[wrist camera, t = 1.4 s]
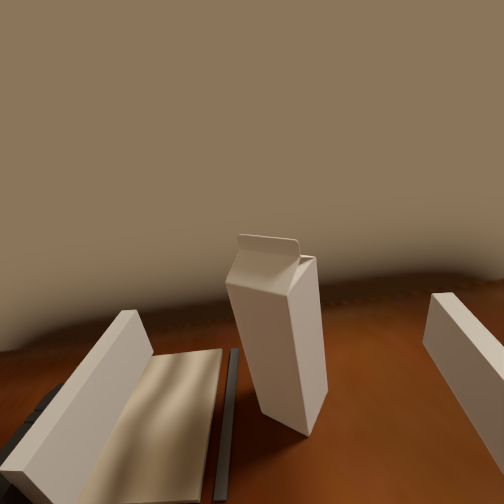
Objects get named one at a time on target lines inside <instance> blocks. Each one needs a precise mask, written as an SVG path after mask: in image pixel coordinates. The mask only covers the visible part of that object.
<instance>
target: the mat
mask: <svg viewBox="0 0 504 504" xmlns="http://www.w3.org/2000/svg"><path fill="white" fill-rule="evenodd" d="M222 352H223V351H222V348H221V349H213V350H204V351H195V352H186V353H178V354H169V355H160V356H152V357H150V359H149V361H148V363H147V365H146V367H145V369H144V371H143V373H142V375H141V377H140V379H139V381H138V382H137V384H136V386H135V388H134V390H133V392H132V394H131V396H130V398H129V400H128V402H127V404H126V406H125V408H124V410H123V412H122V413H121V415H120V417H119V419H118V421H117V423H116V425H115V427H114V429H113V431H112V433H111V435H110V437H109V439H108V441H107V443H106V444H105V446H104V448H103V450H102V452H101V454H100V456H99V458H98V460H97V462H96V464H95V466H94V468H93V470H92V472H91V474H90V475H89V477H88V479H87V481H86V483H85V485H84V487H83V489H82V491H81V493H80V495H79V497H78V499H77V501H76V503H75V504H181V503H200V497H201V491H202V484H203V478H204V471H205V464H206V458H207V451H208V445H209V438H210V431H211V425H212V418H213V412H214V405H215V398H216V392H217V385H218V379H219V372H220V365H221V359H222ZM238 360H239V348H234V349H231V355H230V363H229V372H228V380H227V389H226V397H225V406H224V414H223V423H222V431H221V439H220V448H219V456H218V465H217V473H216V482H215V490H214V499H213V501H214V502H219V501H227V490H228V478H229V467H230V455H231V443H232V431H233V419H234V407H235V396H236V384H237V372H238Z"/></svg>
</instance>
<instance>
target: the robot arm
mask: <svg viewBox="0 0 504 504" xmlns="http://www.w3.org/2000/svg"><path fill="white" fill-rule="evenodd" d="M423 345H424V346H425V348H426V349H427V351H428V353H429V354H430V356H431V358H432V359H433V361H434V362H435V364H436V366H437V367H438V369H439V371H440V372H441V374H442V376H443V377H444V379H445V380H446V382H447V384H448V385H449V387H450V389H451V390H452V392H453V393H454V395H455V397H456V398H457V400H458V402H459V403H460V405H461V406H462V408H463V410H464V411H465V413H466V415H467V416H468V418H469V419H470V421H471V423H472V424H473V426H474V428H475V429H476V431H477V432H478V434H479V436H480V437H481V439H482V441H483V442H484V444H485V445H486V447H487V449H488V450H489V452H490V454H491V455H492V457H493V458H494V460H495V462H496V463H497V465H498V467H499V468H500V470H501V471H502V473H503V475H504V347H503V346H502V345H501V344H500V343H499V342H498V341H497V340H496V338H495V337H494V336H493V335H492V334H491V333H490V332H489V331H488V330H487V329H486V328H485V327H484V326H483V325H482V324H481V323H480V322H479V320H478V319H477V318H476V317H475V316H474V315H473V314H472V313H471V312H470V311H469V310H468V309H467V308H466V307H465V306H464V305H463V304H462V303H461V301H460V300H459V299H458V298H457V297H456V296H455V295H454V294H453V293H436V294H432V296H431V302H430V307H429V312H428V317H427V322H426V327H425V333H424V338H423ZM152 353H153V349H152V347H151V344H150V342H149V339H148V337H147V334H146V332H145V330H144V327H143V325H142V322H141V320H140V317H139V315H138V312H137V310H125V311H121V312H120V314H119V315H118V316H117V318H116V319H115V320H114V321H113V323H112V324H111V325H110V327H109V328H108V329H107V330H106V332H105V333H104V334H103V335H102V337H101V338H100V339H99V341H98V342H97V343H96V344H95V346H94V347H93V348H92V350H91V351H90V352H89V353H88V355H87V356H86V357H85V359H84V360H83V361H82V362H81V364H80V365H79V366H78V368H77V369H76V370H75V371H74V373H73V374H72V375H71V377H70V378H69V379H68V380H67V382H66V383H60V384H59V385H57V386H56V387H55V388H54V389H53V390H51V391H50V392H49V393H48V394H47V395H45V397H44V398H43V399H42V400H41V401H40V403H39V404H38V405H37V406H36V408H35V409H34V412H32V413H31V414H30V415H29V416H28V417H27V419H26V420H25V421H24V424H22V425H21V426H20V427H19V428H18V430H17V431H16V432H15V433H14V435H13V436H12V437H11V438H10V440H9V441H8V442H7V443H6V444H5V446H4V447H3V448H2V449H1V451H0V504H75V503H76V501H77V499H78V497H79V495H80V493H81V491H82V489H83V487H84V485H85V483H86V481H87V479H88V477H89V475H90V474H91V472H92V470H93V468H94V466H95V464H96V462H97V460H98V458H99V456H100V454H101V452H102V450H103V448H104V446H105V444H106V443H107V441H108V439H109V437H110V435H111V433H112V431H113V429H114V427H115V425H116V423H117V421H118V419H119V417H120V415H121V413H122V412H123V410H124V408H125V406H126V404H127V402H128V400H129V398H130V396H131V394H132V392H133V390H134V388H135V386H136V384H137V382H138V381H139V379H140V377H141V375H142V373H143V371H144V369H145V367H146V365H147V363H148V361H149V359H150V357H151V355H152Z"/></svg>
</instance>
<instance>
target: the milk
mask: <svg viewBox="0 0 504 504" xmlns="http://www.w3.org/2000/svg"><path fill="white" fill-rule="evenodd" d="M237 240H238V244H239V252H238V254H237V256H236V258H235V261H234V263H233V265H232V267H231V270H230V272H229V274H228V277H227V279H226V281H225V284H226V287H227V291H228V294H229V298H230V302H231V305H232V309H233V312H234V316H235V319H236V323H237V326H238V330H239V334H240V337H241V341H242V344H243V348H244V351H245V355H246V359H247V362H248V366H249V369H250V373H251V376H252V380H253V383H254V387H255V391H256V394H257V398H258V401H259V405H260V408H261V412H262V413H263V414H265V415H267V416H269V417H271V418H273V419H275V420H277V421H279V422H280V423H282V424H284V425H286V426H288V427H290V428H292V429H294V430H296V431H298V432H300V433H302V434H304V435H306V436H308V437H309V436H310V433H311V431H312V429H313V426H314V424H315V421H316V419H317V416H318V414H319V411H320V409H321V406H322V404H323V401H324V399H325V397H326V394H327V392H328V387H327V376H326V365H325V354H324V343H323V332H322V321H321V310H320V299H319V289H318V277H317V266H316V257H313V256H305V255H300V246H299V243H298V241H297V240H294V239H286V238H285V239H284V238H276V237H266V236H256V235H246V234H238V236H237Z"/></svg>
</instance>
